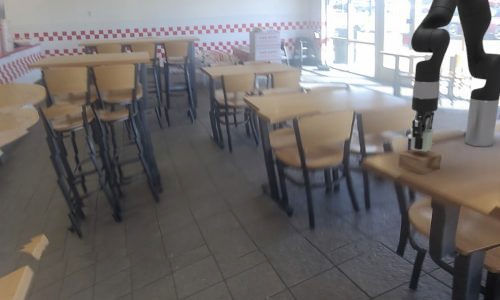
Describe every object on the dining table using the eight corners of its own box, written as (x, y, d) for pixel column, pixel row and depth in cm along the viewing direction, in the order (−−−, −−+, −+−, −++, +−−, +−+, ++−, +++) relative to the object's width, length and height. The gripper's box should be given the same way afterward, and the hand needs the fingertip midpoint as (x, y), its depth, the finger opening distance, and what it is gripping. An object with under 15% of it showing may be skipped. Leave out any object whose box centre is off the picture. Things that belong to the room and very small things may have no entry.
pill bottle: (424, 157, 143) (426, 131, 139) (407, 157, 144) (410, 131, 141) (421, 152, 148) (423, 126, 144) (405, 152, 149) (407, 126, 146)
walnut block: (417, 161, 140) (418, 147, 139) (439, 169, 133) (441, 154, 131) (398, 167, 136) (399, 153, 135) (421, 175, 129) (422, 160, 127)
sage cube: (415, 144, 136) (417, 127, 134) (431, 147, 133) (433, 129, 131) (410, 149, 132) (411, 131, 130) (426, 151, 129) (428, 133, 127)
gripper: (420, 90, 134) (416, 139, 140) (405, 98, 124) (401, 150, 129) (444, 91, 130) (439, 142, 135) (430, 100, 119) (425, 155, 125)
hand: (421, 146), depth 132 cm, fingers closed on sage cube, 5 cm apart
